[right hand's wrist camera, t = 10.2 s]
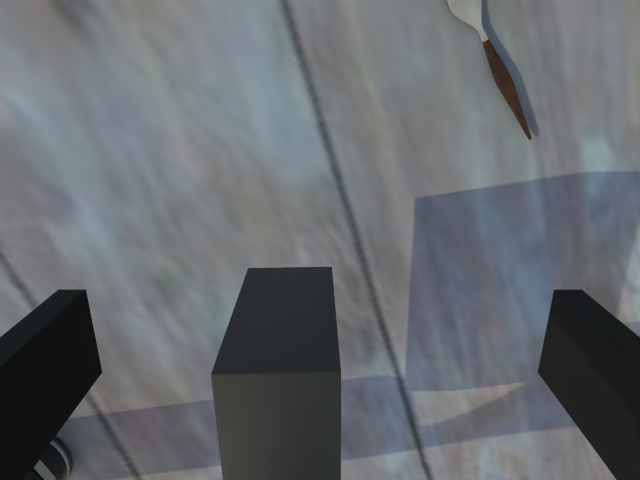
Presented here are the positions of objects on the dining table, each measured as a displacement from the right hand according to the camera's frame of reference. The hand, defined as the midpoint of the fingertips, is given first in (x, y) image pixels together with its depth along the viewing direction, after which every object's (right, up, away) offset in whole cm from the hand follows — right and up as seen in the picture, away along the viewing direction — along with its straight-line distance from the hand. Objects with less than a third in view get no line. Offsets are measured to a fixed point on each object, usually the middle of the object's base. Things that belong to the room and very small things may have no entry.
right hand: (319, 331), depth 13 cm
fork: (+14, +18, +24) cm, 33 cm away
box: (-2, -9, +22) cm, 24 cm away
